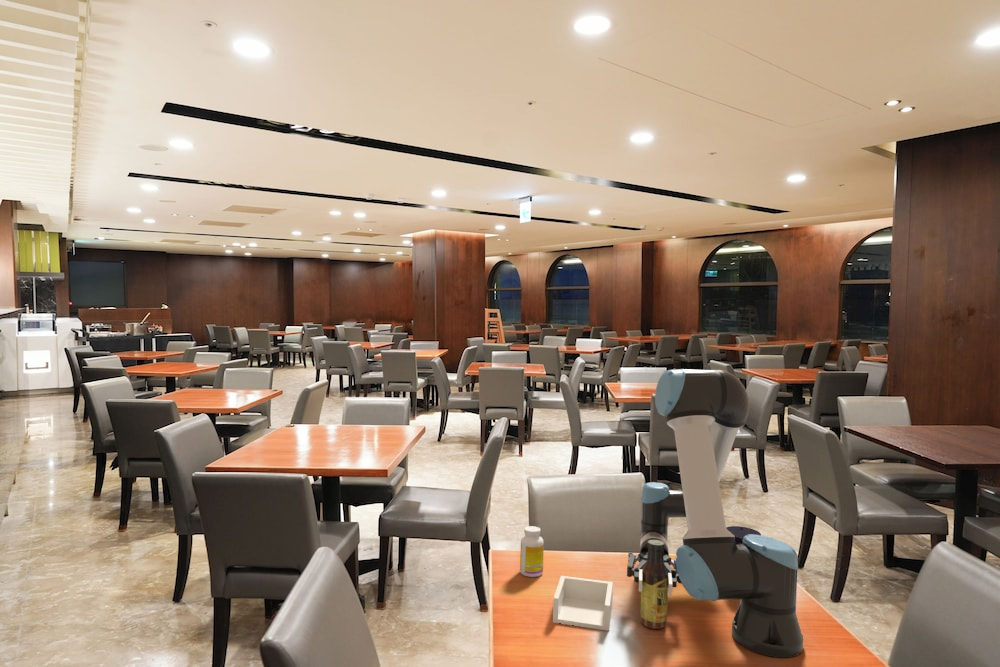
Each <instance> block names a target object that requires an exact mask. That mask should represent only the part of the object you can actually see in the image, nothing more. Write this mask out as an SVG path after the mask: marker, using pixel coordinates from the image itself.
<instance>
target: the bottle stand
mask: <svg viewBox="0 0 1000 667" xmlns="http://www.w3.org/2000/svg"><path fill="white" fill-rule="evenodd" d="M613 586H614V582H613V581H605V580H598V579H591V578H583V577H575V576H567V575H560V578H559V581H558V583H557V587H556V590H555V592H554V596H553V600H552V606H553V607H552V608H553V609H552V623H553V624H559V623H561V624H560V625H566V624H567V626H572V625H574V627H579V626H580V627H581V628H586V629H593V630H601V631H608V632H609V631H610V626H611V619H612V609H613V593H614V592H613V590H614V587H613Z"/></svg>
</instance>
